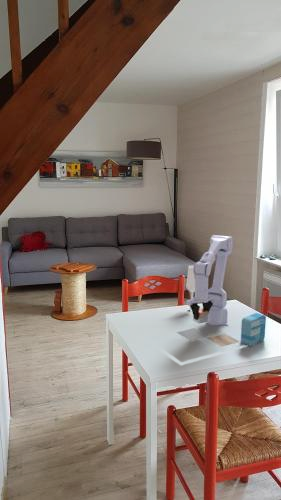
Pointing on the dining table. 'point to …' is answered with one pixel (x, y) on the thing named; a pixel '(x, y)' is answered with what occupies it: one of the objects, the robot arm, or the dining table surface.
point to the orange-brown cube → (202, 316)
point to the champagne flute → (190, 281)
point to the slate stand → (192, 334)
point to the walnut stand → (223, 339)
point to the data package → (253, 329)
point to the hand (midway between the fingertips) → (200, 318)
